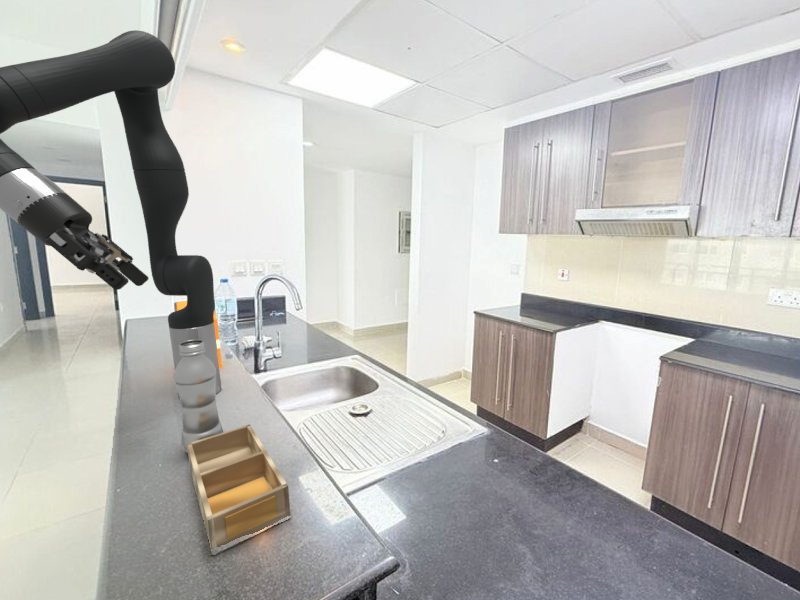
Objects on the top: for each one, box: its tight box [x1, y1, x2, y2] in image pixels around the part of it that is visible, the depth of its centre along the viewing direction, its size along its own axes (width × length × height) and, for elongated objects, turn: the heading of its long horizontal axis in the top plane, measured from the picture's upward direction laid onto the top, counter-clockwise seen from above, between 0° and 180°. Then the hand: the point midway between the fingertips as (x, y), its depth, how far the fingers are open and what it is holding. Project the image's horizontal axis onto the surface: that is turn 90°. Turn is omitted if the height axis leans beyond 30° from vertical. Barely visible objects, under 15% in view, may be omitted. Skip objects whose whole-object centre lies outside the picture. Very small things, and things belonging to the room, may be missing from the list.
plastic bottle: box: [173, 340, 224, 454], centre depth 62 cm, size 6×7×20 cm
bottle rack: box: [187, 424, 291, 549], centre depth 53 cm, size 20×10×5 cm, turn 37°
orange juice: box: [176, 300, 223, 369], centre depth 101 cm, size 8×9×20 cm
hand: (134, 284), depth 59 cm, fingers open, 8 cm apart
